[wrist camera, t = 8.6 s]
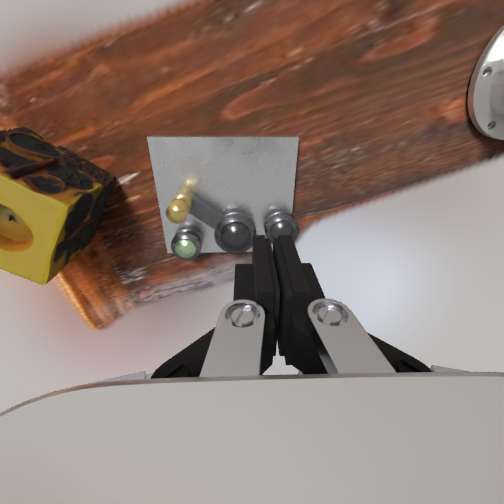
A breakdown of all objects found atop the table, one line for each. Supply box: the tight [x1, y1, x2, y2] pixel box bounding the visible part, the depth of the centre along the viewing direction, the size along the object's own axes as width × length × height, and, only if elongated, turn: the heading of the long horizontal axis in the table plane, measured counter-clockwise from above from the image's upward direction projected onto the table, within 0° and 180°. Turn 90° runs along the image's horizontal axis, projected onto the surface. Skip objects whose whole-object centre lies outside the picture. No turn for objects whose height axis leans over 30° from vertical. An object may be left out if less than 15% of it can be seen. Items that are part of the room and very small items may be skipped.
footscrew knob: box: [166, 188, 257, 254], centre depth 29 cm, size 10×5×6 cm, turn 52°
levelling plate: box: [147, 135, 299, 260], centre depth 30 cm, size 16×14×4 cm
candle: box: [0, 127, 116, 284], centre depth 26 cm, size 10×10×10 cm
